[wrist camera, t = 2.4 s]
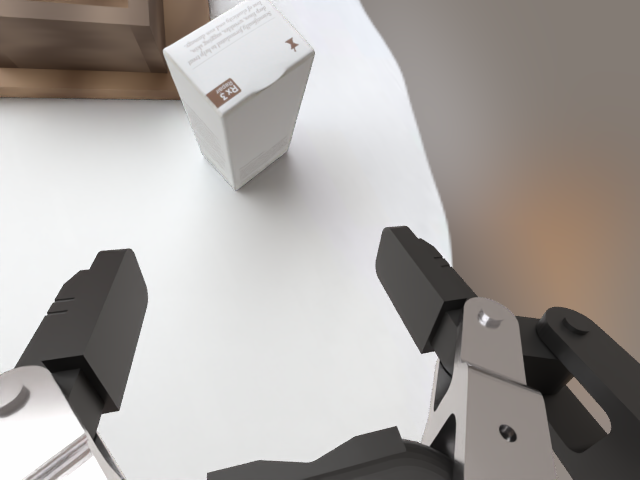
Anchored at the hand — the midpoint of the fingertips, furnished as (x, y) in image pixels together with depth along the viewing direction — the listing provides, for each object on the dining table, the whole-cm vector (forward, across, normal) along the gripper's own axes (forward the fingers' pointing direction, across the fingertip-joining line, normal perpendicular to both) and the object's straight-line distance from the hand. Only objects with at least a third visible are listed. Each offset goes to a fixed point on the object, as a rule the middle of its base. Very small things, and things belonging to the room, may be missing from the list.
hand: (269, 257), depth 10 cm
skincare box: (+18, 0, +3) cm, 18 cm away
